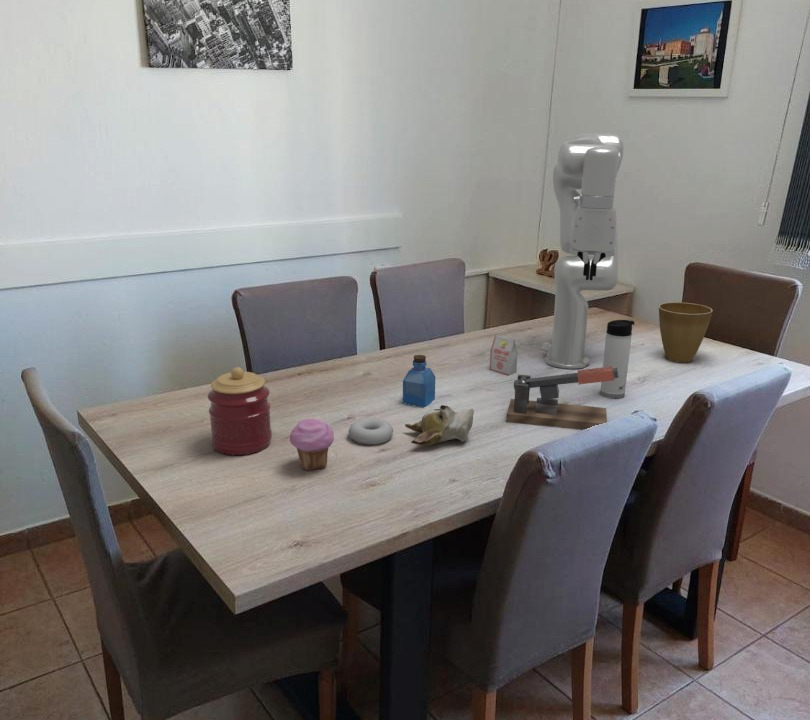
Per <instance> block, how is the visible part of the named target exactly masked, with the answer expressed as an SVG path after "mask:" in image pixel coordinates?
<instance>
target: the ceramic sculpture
mask: <svg viewBox="0 0 810 720" xmlns="http://www.w3.org/2000/svg"><path fill="white" fill-rule="evenodd" d="M474 412H475V411H474V408H470V409H463V410H461V411H457V412H456V411H455V410H454V409H453V408H452V407H450V406H448V405H444V404H443V405H442V404H441V405H440V407H439V409H438V408H434V409H430V410H428V411H427V412H426V413H424V414H423V416H422V418H421V420H419V421H418V422H415V423H413V424H410V423H406V424H404V426H405V427H406V428H407V429H410V430H411V431H414V432H416V433H421V434H418V435H417V437H416V438H415V439H413V440H411V441H410V443H411V444H413V445H418V446H425V447H428V446H432V445H434V444H436V443H443V442H446V441H450V440H456V439H457V440H458V441H459V440H460V441H461V442H465V441H467V439H468V437H469V433H470V431H471V430H472V427H473V425H474V424H473V422H474V414H475V413H474Z"/></svg>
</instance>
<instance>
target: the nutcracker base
mask: <svg viewBox="0 0 810 720" xmlns="http://www.w3.org/2000/svg"><path fill="white" fill-rule="evenodd" d="M522 376H525V377H527V378H528V379H529V378H531V375H527V374H518V375H517V380H519V378H520V377H522ZM530 392H531V388H528V385H527V384H517V383H516V384H515V389H514V398H510V401H509V403H508V404H509V405H508V408H507V412H506V416H505V417H506V418H505V419H506V421H505V422H508V423H516V424H517V423H518V424H526V425H533V426H534V425H535V426H546V427H554V428H555V427H556V428H562V429H563V428H564V429H572V430H574V429H575V430H583V429H587V428H590V427H592V426H595V425H599V424H603V423H606V422H607V423H608V418H607V417H608V416H607V413H608V411H607V407H600V406H592V405H591V406H588V405H579V404H578V405H577V404H570V403H569V404H568V403H559V399H558V398H554V399H546V400H542V399H541V397H540V396H539V397H536V400H530Z"/></svg>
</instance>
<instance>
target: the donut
mask: <svg viewBox="0 0 810 720" xmlns="http://www.w3.org/2000/svg"><path fill="white" fill-rule="evenodd" d="M393 433H394V427H393V426H392V424H391V423H390V422H388V421H387V420H385V419H382V418H377V417H364V418H360V419H357V420H355V421H354V422H352V423H351V424H350V426H349V428H348V434H349V437H350V438H351V439H352V440H353V441H354V442H355V443H359V444H363V445H369V446H370V445H371V446H372V445H374V446H375V445H380V444H384V443H385V442H388V441H390V439H391V438H392V437H393V435H394V434H393Z"/></svg>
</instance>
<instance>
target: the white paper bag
mask: <svg viewBox="0 0 810 720" xmlns="http://www.w3.org/2000/svg"><path fill="white" fill-rule="evenodd" d="M489 352H490V354H489V355H490V356H489V371H492V372H496V373H499V374H502V375H504V376H511V375H514V374H516V373H517V370H518V369H517V367H518V356H519V355H518V354H519V353H518V352H519V351H518V350H517V346H516V340H515V339H512V338H508V337H504V336H500V335H496V334H495V335H494V338H493V341H492V344H491V347H490V351H489Z"/></svg>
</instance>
